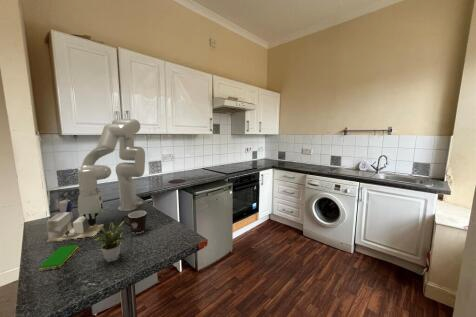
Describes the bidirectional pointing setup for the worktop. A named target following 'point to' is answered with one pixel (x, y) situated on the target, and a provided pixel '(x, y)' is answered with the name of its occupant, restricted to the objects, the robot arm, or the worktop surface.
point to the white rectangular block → (80, 225)
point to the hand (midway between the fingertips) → (92, 225)
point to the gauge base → (82, 235)
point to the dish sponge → (59, 256)
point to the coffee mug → (137, 221)
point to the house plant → (110, 241)
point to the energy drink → (66, 207)
